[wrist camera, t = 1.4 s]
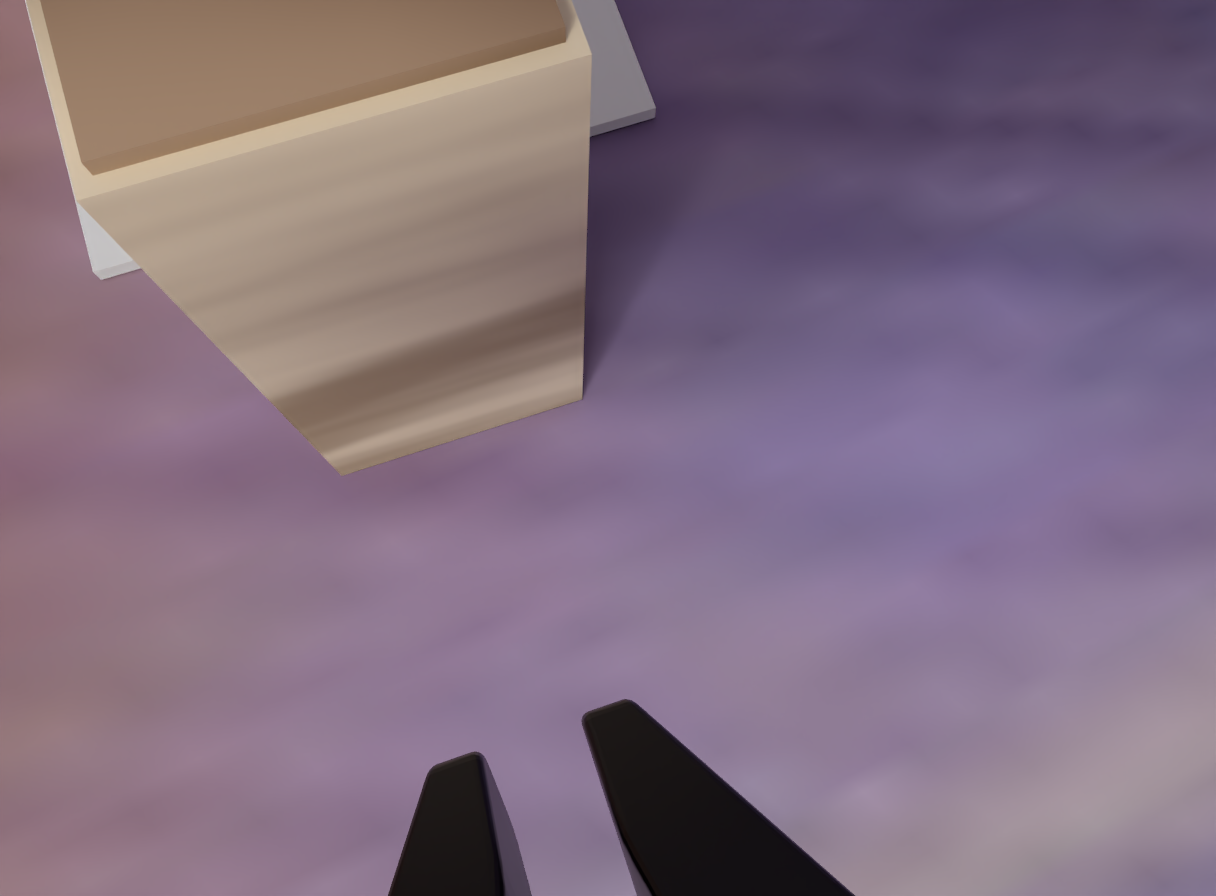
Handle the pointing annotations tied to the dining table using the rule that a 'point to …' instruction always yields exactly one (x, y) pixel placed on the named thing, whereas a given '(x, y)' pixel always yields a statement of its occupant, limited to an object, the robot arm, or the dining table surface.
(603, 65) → the mat
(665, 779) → the robot arm
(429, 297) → the block
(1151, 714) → the dining table surface
